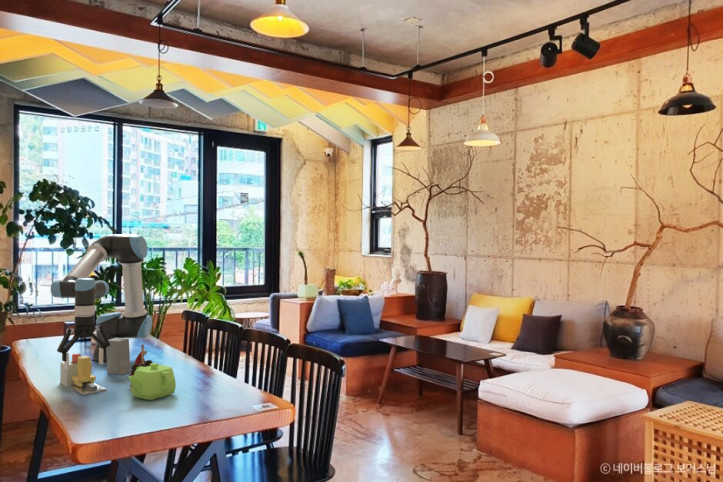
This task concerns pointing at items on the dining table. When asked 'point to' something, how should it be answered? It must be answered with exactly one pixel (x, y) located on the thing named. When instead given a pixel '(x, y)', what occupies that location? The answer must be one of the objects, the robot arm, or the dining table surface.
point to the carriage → (83, 371)
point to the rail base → (83, 391)
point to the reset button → (75, 358)
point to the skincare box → (118, 356)
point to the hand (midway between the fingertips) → (84, 366)
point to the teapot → (152, 381)
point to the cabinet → (69, 373)
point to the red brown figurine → (140, 361)
